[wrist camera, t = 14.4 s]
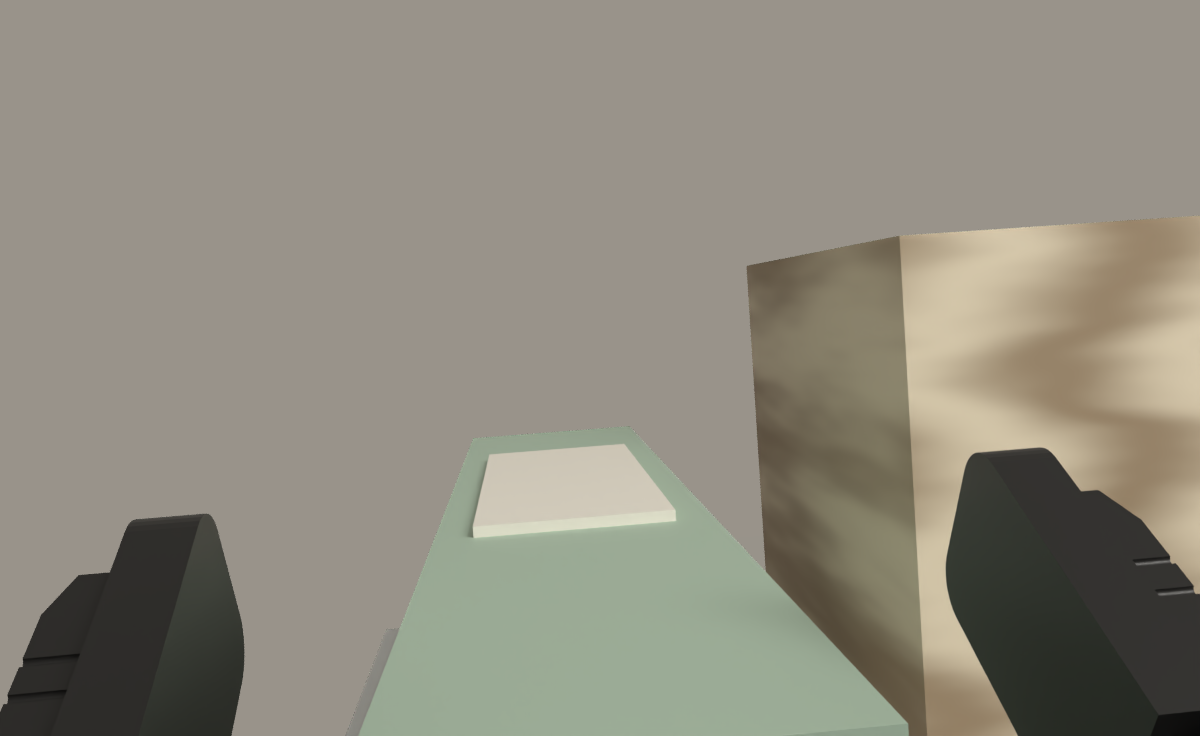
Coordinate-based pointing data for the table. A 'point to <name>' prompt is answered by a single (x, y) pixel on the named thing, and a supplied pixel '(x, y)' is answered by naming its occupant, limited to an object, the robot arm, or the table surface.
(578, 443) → the pale green block bar
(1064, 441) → the zigzag patterned pillar
